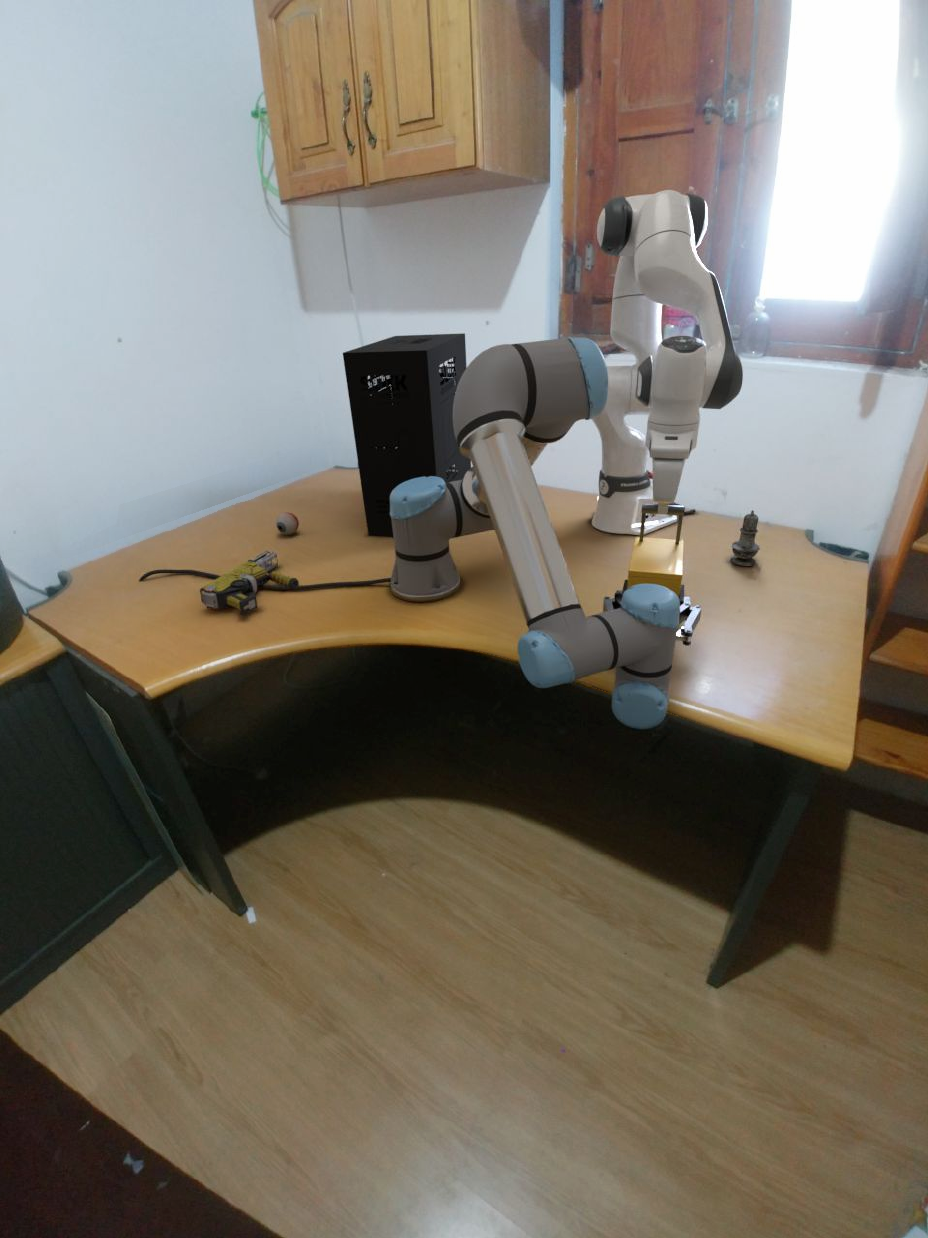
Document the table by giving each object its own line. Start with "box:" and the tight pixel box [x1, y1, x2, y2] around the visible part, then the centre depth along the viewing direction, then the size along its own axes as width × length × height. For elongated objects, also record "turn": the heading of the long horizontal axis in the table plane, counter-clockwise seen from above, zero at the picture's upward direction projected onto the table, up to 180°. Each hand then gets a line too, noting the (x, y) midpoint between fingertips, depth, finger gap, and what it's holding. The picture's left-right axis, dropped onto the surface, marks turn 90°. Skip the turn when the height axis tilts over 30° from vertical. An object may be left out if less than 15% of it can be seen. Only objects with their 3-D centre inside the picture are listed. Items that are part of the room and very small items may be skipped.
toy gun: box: [199, 550, 300, 616], centre depth 135 cm, size 5×24×15 cm
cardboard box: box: [342, 333, 472, 537], centre depth 164 cm, size 38×20×45 cm, turn 167°
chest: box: [627, 575, 683, 598], centre depth 117 cm, size 15×9×11 cm, turn 162°
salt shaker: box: [729, 509, 761, 567], centre depth 133 cm, size 6×6×12 cm
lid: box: [627, 504, 686, 581], centre depth 112 cm, size 16×9×9 cm, turn 162°
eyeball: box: [275, 511, 300, 536], centre depth 163 cm, size 6×6×6 cm
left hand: (653, 588), depth 113 cm, fingers closed on chest, 9 cm apart
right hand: (662, 509), depth 115 cm, fingers closed on lid, 2 cm apart
